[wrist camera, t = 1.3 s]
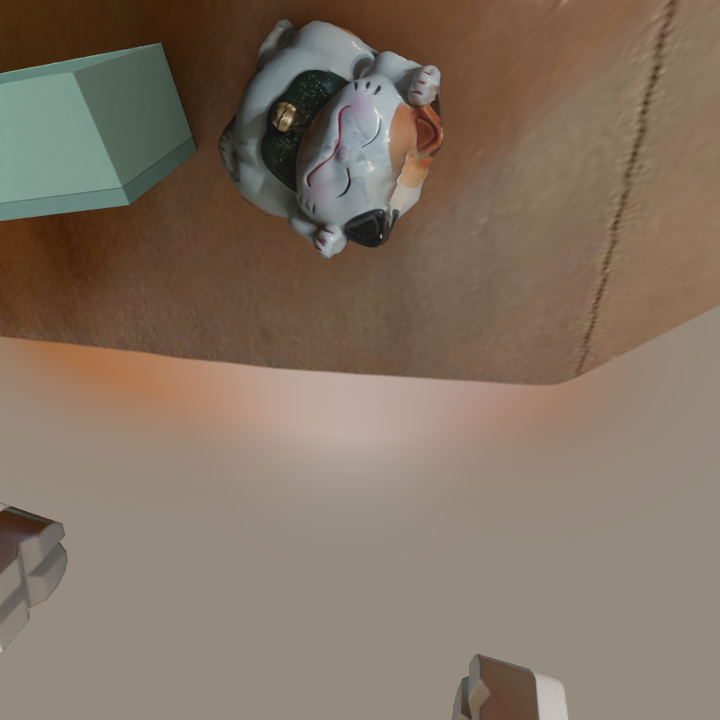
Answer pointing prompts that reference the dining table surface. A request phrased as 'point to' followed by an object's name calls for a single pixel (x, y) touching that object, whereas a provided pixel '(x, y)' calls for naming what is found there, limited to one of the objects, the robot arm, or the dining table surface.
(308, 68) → the lucky cat figurine
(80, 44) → the dining table surface
